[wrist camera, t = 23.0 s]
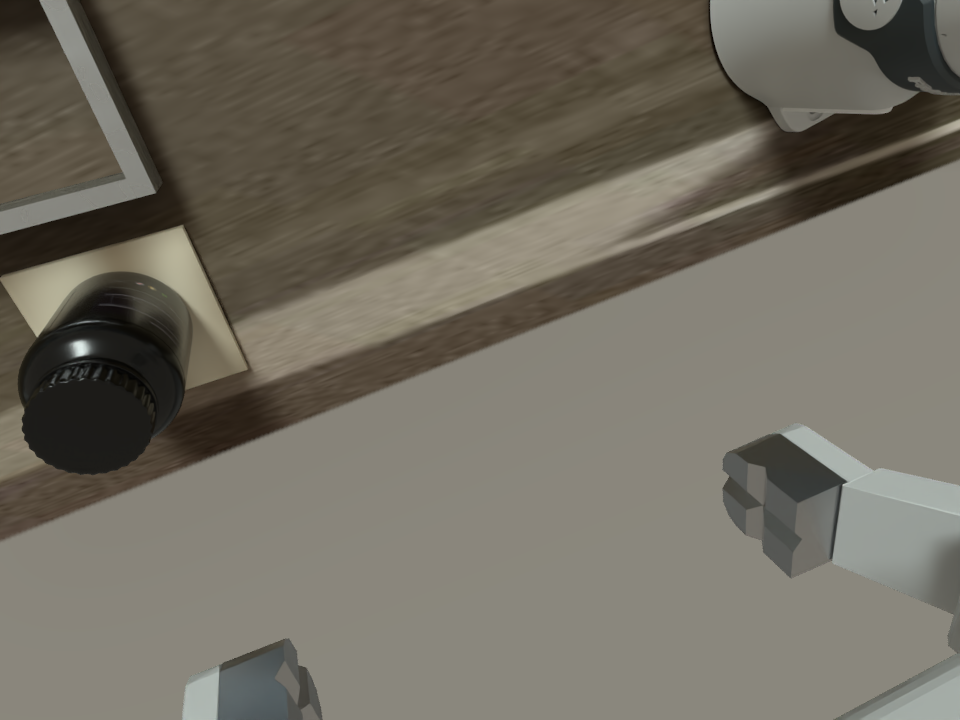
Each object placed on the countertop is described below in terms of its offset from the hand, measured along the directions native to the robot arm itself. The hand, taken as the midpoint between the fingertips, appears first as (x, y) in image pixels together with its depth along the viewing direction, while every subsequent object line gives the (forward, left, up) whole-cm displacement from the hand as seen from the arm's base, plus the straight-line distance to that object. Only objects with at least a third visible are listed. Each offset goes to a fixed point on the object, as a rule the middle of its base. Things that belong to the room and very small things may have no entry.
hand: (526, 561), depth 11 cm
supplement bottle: (+13, +4, -31) cm, 34 cm away
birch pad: (+13, +4, -31) cm, 34 cm away
